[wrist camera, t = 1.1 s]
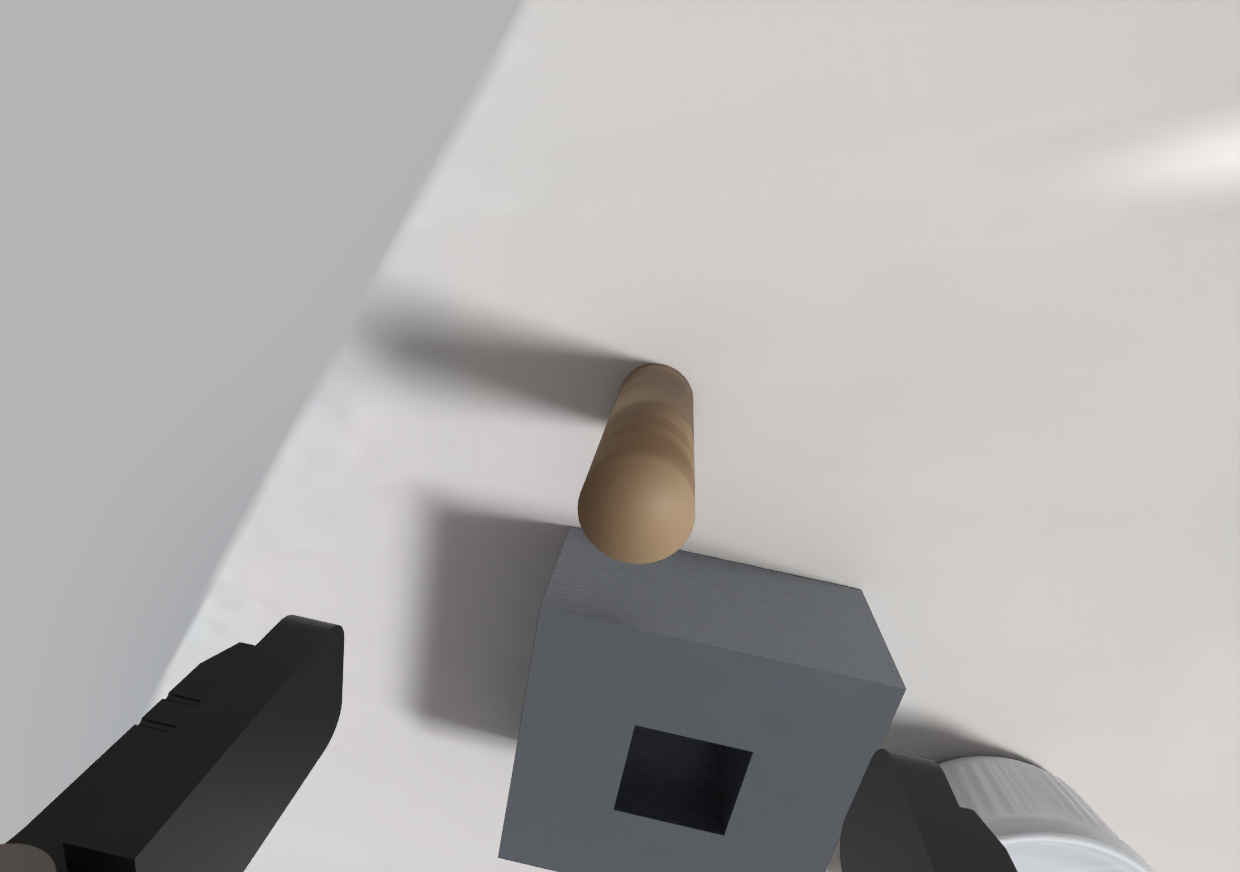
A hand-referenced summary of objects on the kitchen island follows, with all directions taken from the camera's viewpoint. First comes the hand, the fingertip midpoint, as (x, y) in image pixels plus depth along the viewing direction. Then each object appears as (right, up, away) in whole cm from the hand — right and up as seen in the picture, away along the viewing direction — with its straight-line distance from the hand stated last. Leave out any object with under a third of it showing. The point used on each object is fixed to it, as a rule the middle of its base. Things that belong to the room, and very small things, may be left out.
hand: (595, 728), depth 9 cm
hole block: (+3, -7, +20) cm, 22 cm away
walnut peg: (+2, +6, +16) cm, 17 cm away
